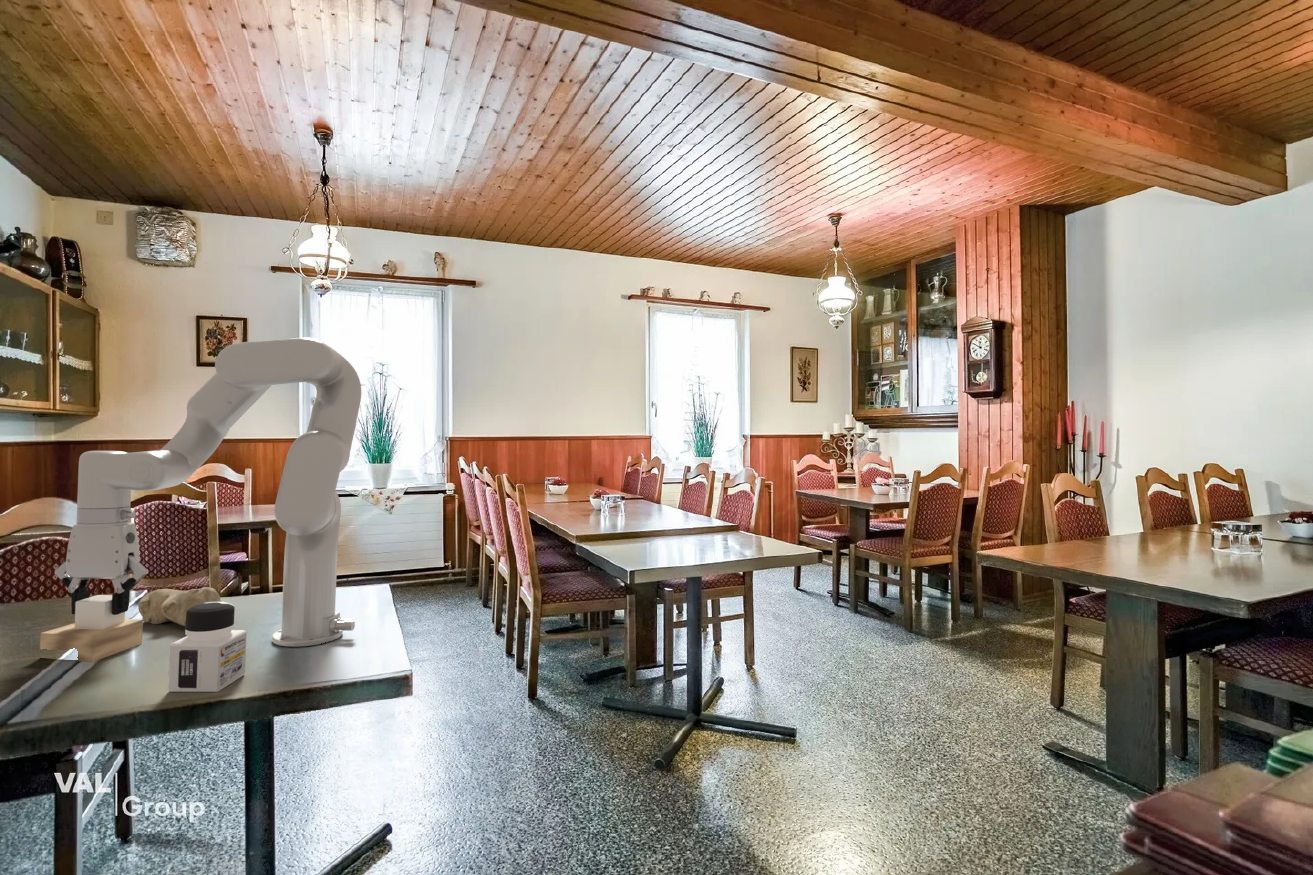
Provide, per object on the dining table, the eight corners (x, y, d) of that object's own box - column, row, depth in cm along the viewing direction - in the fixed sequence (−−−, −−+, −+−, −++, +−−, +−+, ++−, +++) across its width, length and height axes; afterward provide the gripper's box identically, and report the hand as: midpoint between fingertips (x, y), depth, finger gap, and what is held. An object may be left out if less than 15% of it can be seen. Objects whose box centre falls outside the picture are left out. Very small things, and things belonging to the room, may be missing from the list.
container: (218, 692, 100) (221, 611, 100) (166, 692, 99) (170, 610, 100) (245, 674, 108) (248, 598, 108) (198, 674, 107) (201, 598, 107)
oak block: (141, 645, 121) (142, 619, 121) (93, 663, 111) (94, 635, 111) (92, 643, 122) (93, 617, 122) (39, 660, 112) (40, 632, 112)
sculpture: (170, 623, 125) (207, 580, 131) (119, 610, 131) (157, 569, 138) (202, 643, 131) (237, 601, 137) (152, 629, 137) (187, 589, 143)
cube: (124, 621, 120) (125, 595, 120) (103, 629, 115) (104, 602, 115) (96, 621, 119) (97, 594, 120) (74, 628, 115) (75, 601, 115)
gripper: (166, 515, 122) (163, 607, 122) (71, 513, 120) (67, 606, 120) (138, 520, 114) (134, 618, 114) (36, 518, 113) (32, 617, 113)
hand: (100, 611), depth 117 cm, fingers open, 6 cm apart
